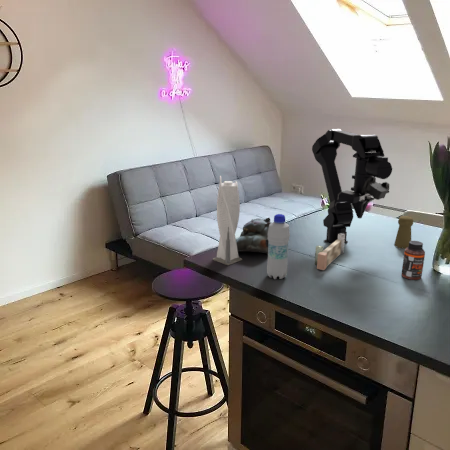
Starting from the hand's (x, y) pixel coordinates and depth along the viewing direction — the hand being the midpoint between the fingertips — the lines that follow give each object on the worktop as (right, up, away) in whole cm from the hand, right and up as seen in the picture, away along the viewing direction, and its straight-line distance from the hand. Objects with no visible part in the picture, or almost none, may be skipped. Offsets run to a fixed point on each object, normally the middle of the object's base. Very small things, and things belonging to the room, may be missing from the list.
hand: (359, 218), depth 172 cm
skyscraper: (-45, -14, -2) cm, 47 cm away
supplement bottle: (+12, -19, -15) cm, 27 cm away
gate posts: (-10, -14, -1) cm, 17 cm away
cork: (+19, -10, +12) cm, 25 cm away
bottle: (-30, -18, -16) cm, 38 cm away
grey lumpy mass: (-36, -12, +5) cm, 39 cm away
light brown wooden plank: (-11, -14, -4) cm, 19 cm away
